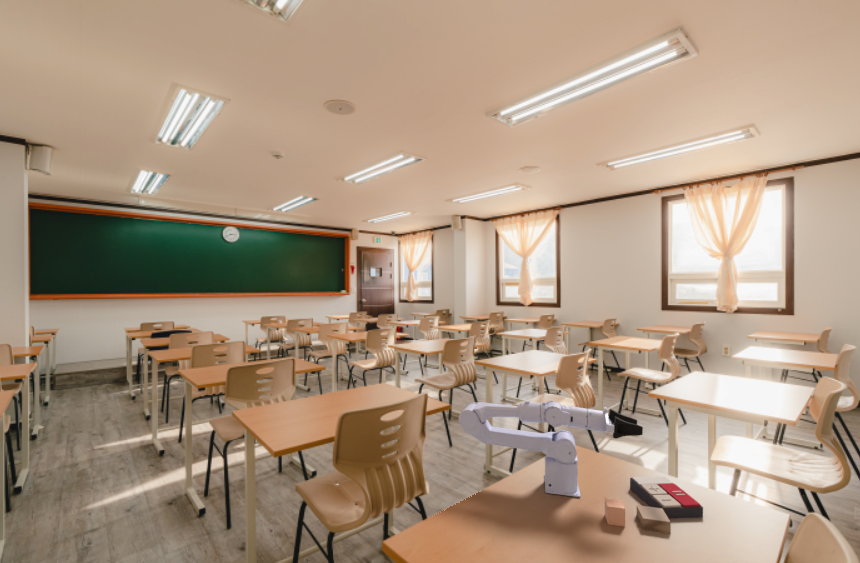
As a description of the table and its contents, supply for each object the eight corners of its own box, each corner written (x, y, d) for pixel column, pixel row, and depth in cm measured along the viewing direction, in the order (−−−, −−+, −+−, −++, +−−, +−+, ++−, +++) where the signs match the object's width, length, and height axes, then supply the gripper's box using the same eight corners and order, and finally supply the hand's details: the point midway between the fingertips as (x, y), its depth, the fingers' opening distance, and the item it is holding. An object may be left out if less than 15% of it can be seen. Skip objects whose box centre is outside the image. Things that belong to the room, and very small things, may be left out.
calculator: (663, 506, 99) (629, 474, 114) (662, 522, 100) (629, 489, 114) (704, 504, 100) (665, 473, 115) (703, 521, 100) (664, 488, 115)
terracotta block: (607, 524, 97) (607, 506, 97) (604, 515, 101) (604, 497, 101) (625, 527, 96) (625, 508, 96) (621, 517, 100) (621, 500, 100)
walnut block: (643, 530, 95) (643, 518, 95) (636, 516, 101) (636, 505, 101) (670, 534, 93) (670, 522, 94) (662, 520, 99) (662, 508, 99)
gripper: (589, 410, 106) (645, 418, 101) (586, 399, 119) (635, 407, 115) (588, 436, 105) (644, 446, 101) (584, 423, 119) (634, 431, 114)
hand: (639, 427), depth 108 cm, fingers open, 7 cm apart
